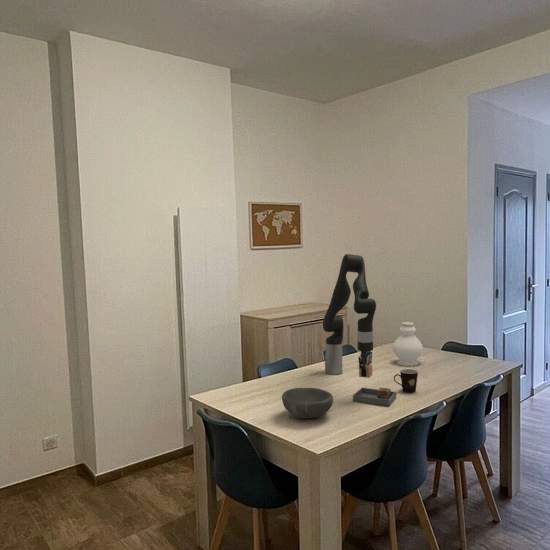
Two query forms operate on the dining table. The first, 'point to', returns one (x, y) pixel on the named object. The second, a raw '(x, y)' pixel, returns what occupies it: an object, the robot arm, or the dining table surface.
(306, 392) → the bowl
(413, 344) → the decorative vase
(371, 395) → the charcoal tray
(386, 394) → the walnut block
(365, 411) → the dining table surface
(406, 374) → the coffee mug
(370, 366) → the terracotta block
